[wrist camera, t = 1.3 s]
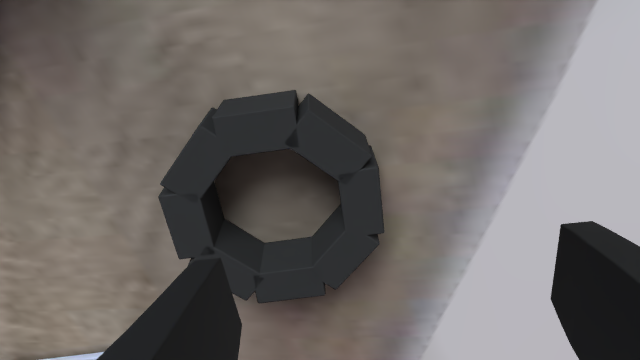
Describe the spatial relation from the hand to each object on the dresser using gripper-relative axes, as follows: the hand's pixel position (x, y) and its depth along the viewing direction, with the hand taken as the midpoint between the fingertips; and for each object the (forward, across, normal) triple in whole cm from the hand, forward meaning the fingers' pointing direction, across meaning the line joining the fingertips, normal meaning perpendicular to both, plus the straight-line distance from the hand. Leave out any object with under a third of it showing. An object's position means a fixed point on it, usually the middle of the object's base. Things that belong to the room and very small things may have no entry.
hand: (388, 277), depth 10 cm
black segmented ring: (+10, +4, +3) cm, 11 cm away
